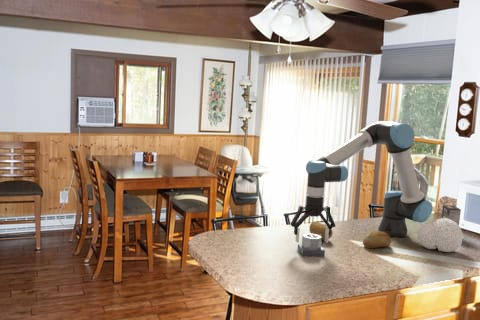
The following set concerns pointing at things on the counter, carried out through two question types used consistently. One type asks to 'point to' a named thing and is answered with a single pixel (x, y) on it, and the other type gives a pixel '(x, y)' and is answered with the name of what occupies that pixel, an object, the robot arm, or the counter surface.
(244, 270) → the counter surface
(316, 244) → the hub
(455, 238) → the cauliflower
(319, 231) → the potato
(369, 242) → the bread roll
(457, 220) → the coffee box
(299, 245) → the pillow block
